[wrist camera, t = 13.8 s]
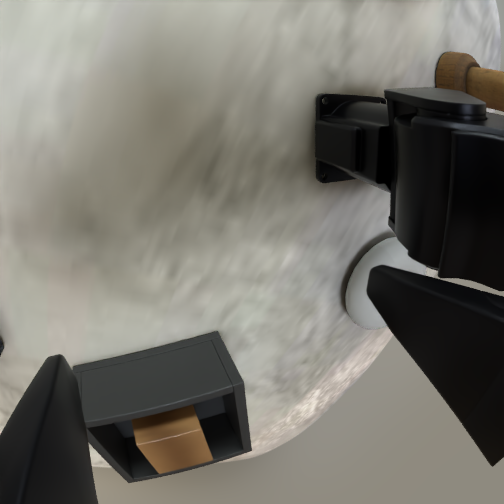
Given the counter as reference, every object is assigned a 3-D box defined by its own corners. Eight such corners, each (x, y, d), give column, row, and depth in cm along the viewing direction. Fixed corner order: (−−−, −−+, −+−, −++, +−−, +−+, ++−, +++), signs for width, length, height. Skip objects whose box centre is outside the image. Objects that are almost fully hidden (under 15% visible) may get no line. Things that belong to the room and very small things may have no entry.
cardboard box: (181, 371, 25) (201, 428, 20) (194, 409, 28) (213, 460, 23) (125, 385, 23) (136, 445, 18) (145, 422, 26) (159, 474, 21)
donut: (362, 329, 34) (420, 264, 33) (380, 348, 31) (441, 279, 30) (320, 290, 28) (392, 210, 27) (341, 312, 25) (419, 224, 24)
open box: (217, 330, 25) (244, 382, 21) (231, 408, 31) (252, 450, 26) (72, 366, 21) (72, 424, 17) (119, 436, 27) (128, 483, 22)
